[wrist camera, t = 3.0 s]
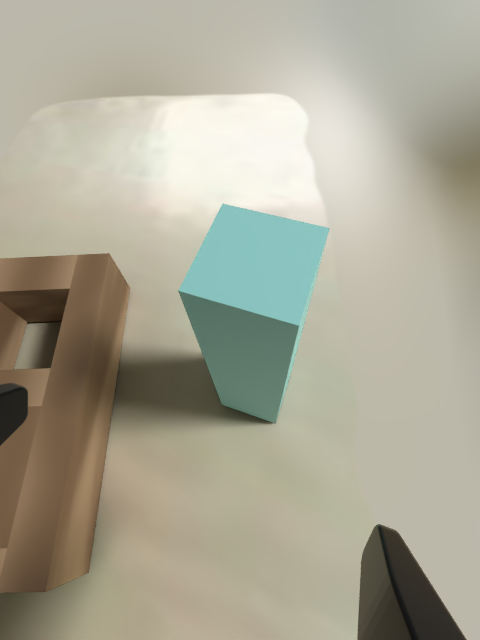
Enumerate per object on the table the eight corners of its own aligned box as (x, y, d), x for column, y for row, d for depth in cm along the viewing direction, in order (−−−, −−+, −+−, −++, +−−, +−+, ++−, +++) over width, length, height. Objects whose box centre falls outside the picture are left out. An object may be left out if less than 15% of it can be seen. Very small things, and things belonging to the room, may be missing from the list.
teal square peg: (275, 423, 20) (299, 325, 9) (221, 404, 21) (178, 290, 9) (291, 371, 22) (329, 228, 10) (240, 355, 22) (222, 203, 11)
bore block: (-85, 576, 18) (-172, 596, 14) (9, 293, 25) (-31, 260, 22) (88, 572, 17) (45, 591, 14) (130, 287, 25) (109, 253, 22)
